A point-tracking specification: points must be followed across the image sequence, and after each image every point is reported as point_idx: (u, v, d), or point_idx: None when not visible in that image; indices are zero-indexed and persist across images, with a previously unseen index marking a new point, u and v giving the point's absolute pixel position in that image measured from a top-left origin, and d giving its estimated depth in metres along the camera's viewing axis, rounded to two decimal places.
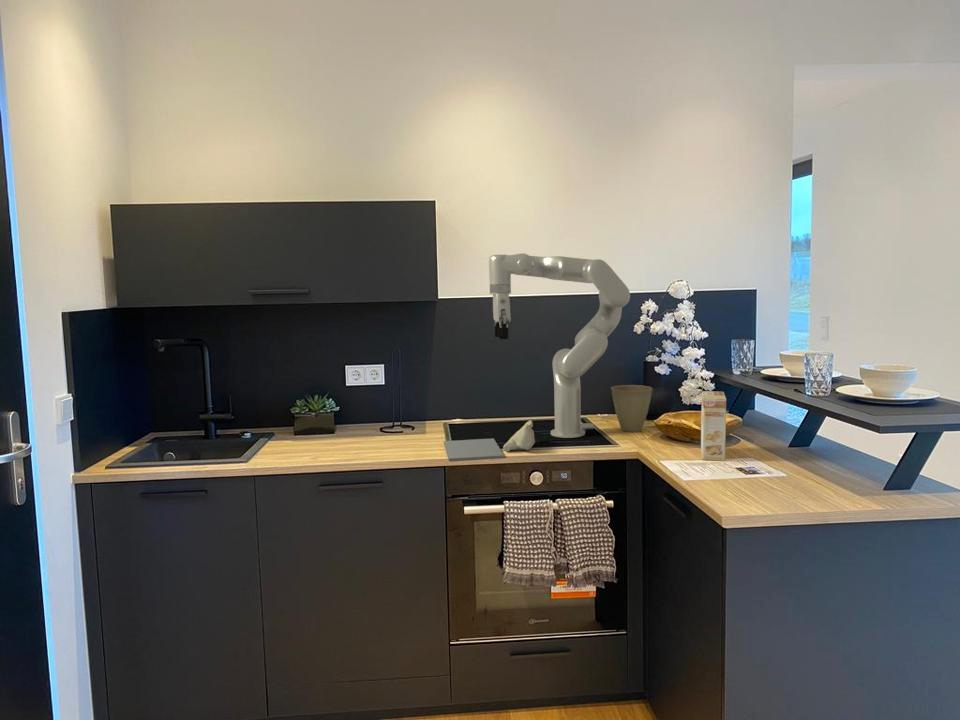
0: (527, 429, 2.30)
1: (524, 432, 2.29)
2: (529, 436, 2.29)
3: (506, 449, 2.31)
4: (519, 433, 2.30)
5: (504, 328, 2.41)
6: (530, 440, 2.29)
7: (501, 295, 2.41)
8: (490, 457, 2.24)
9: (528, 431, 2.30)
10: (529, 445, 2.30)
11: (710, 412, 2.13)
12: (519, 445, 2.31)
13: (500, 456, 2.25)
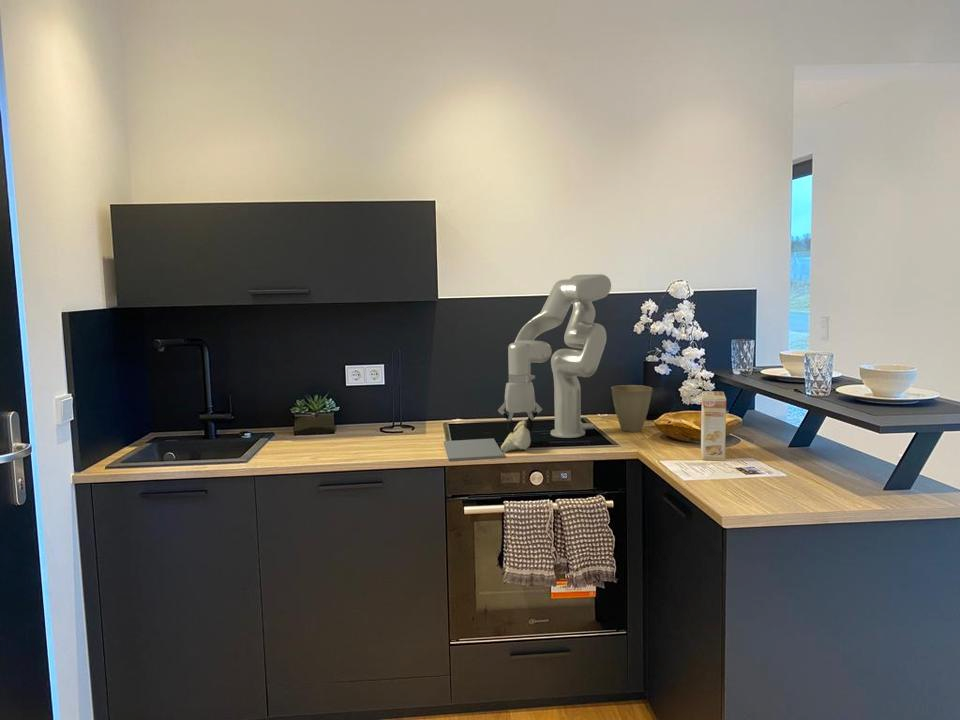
0: (525, 429, 2.30)
1: (522, 432, 2.29)
2: (527, 436, 2.29)
3: (504, 450, 2.30)
4: (517, 433, 2.30)
5: None
6: (528, 440, 2.30)
7: (532, 384, 2.35)
8: (490, 457, 2.24)
9: (526, 431, 2.30)
10: (527, 445, 2.30)
11: (710, 412, 2.13)
12: (517, 445, 2.30)
13: (500, 456, 2.25)
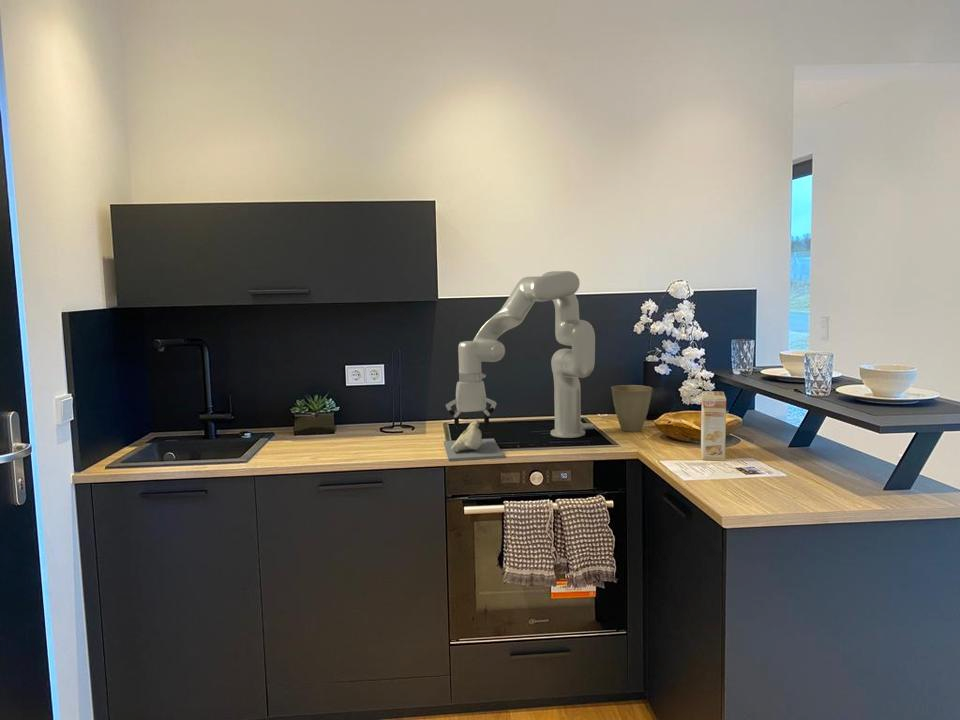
0: (476, 429, 2.28)
1: (473, 432, 2.27)
2: (478, 436, 2.28)
3: (455, 450, 2.28)
4: (468, 433, 2.28)
5: None
6: (479, 440, 2.28)
7: (483, 383, 2.33)
8: (490, 457, 2.24)
9: (477, 431, 2.28)
10: (478, 445, 2.29)
11: (710, 412, 2.13)
12: (468, 445, 2.29)
13: (500, 456, 2.25)
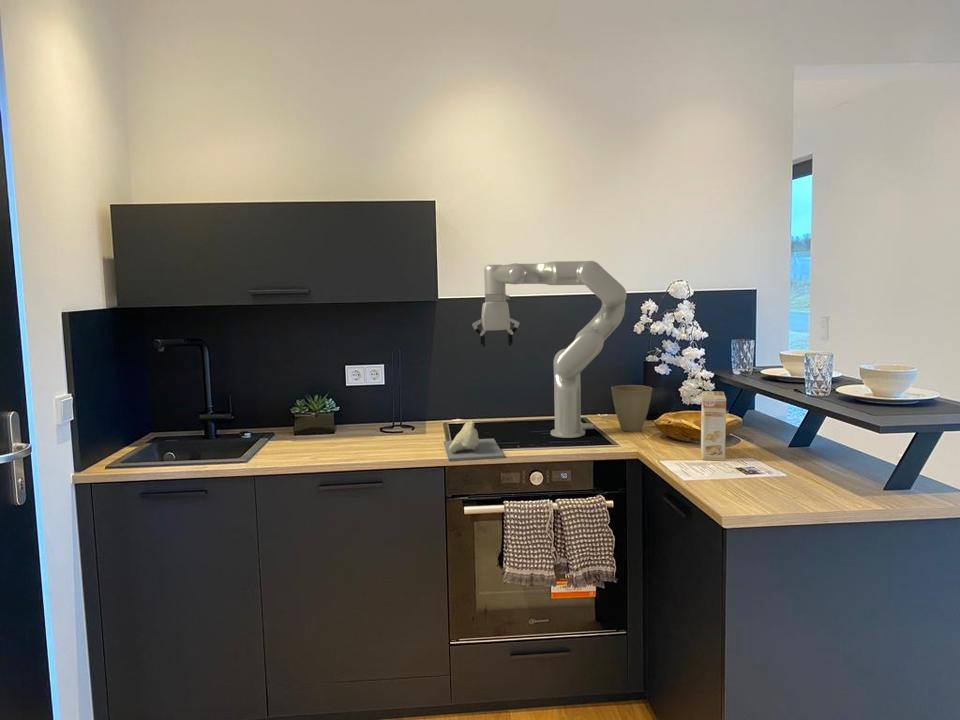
0: (473, 429, 2.28)
1: (471, 432, 2.27)
2: (476, 436, 2.28)
3: (452, 450, 2.28)
4: (465, 433, 2.28)
5: None
6: (477, 440, 2.28)
7: (507, 303, 2.51)
8: (490, 457, 2.24)
9: (474, 431, 2.28)
10: (475, 445, 2.29)
11: (710, 412, 2.13)
12: (465, 445, 2.28)
13: (500, 456, 2.25)
